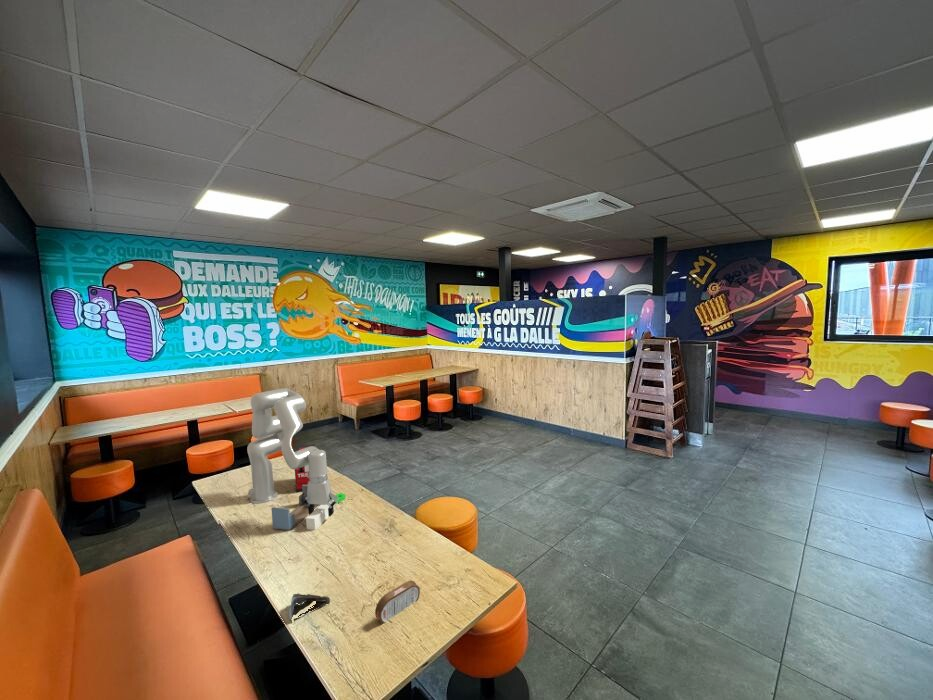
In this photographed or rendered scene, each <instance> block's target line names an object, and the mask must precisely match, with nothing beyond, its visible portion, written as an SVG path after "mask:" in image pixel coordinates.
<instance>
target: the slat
mask: <svg viewBox="0 0 933 700" xmlns="http://www.w3.org/2000/svg"><path fill="white" fill-rule="evenodd" d="M332 501H334V500H332ZM329 503H330V502H329ZM330 504H331V503H330ZM328 508H329V506H328V505H327V504H326V505H319V506H317V507H316V508H315V509H314V511H313V512H312V513H311V514H310V515H308V516H306V517H305V521H306V524H305V525H306V530H310V531H312V530H313V531H316V530H317V529H318V528H319V527H320V526H321V525H322V524H323V523H324V522H325V521H326V520H327V519H328V518H329V517H330V516H329V515H328Z"/></svg>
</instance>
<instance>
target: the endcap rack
mask: <svg viewBox="0 0 933 700" xmlns="http://www.w3.org/2000/svg"><path fill="white" fill-rule="evenodd" d="M307 487H308V485H302V493H301V494H300V495H299V496H298V506H297V507H295V509H293V510H292V511H291V512H290V516H291V515H292V514H295V525H294V526H293V527H292V528H291V529H290V530H288V529H277V528H273V527H272V530H280V531H281V530H283V531H292V530H293V529H294V528H295V527H297V526H298V525H299V524H300V523H302V521H303V520H304V519H306V518H307V517H308V516H309V512H308V507H307V504H306V503H305V502H304V500H303V498H302V496H303V495H305V494H307ZM319 506H320V505H316V504H314V510H316V509H317V508H318V507H319Z"/></svg>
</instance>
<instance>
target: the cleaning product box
mask: <svg viewBox="0 0 933 700" xmlns="http://www.w3.org/2000/svg"><path fill="white" fill-rule="evenodd" d="M310 446H314V447H316V444H314V443H313V444H308V445H307V444H305V445H298V446H297V447H296V451H299V450H301V449H304V448H307V447H310ZM296 451H295V452H296ZM308 475H309V465H306V466H303V467H301V468H298V469H294V476H295V477H294V479H295V491H296V492H295V493H301V492H302V485H308V482H309V481H310V479H309V478H307V476H308ZM302 493H303V492H302Z"/></svg>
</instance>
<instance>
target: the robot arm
mask: <svg viewBox="0 0 933 700" xmlns="http://www.w3.org/2000/svg"><path fill="white" fill-rule="evenodd" d="M250 407H251V410H252V417H251V419H252V422H251V434H252V437H253V438H254V440H252V441H251V442H249V444H248V445H247V449H246V450H247V454H248V458H249V463H250V469H251V470H250V472H251V483H252V488H250V489H248V492H247V495H248V496H251V497H250V499H249V500H250V503H251V504H255V505H258V504H259V505H260V504H265V503H268V502H272V501H273V500H275V499H276V498H277V497H278V495H279V494H278V493H279V492H278V491H276V490H275V484H274V483H275V482H274V470H273V463H272V461H271V460H270V459H269V458H268V456H270V455H273V454H277V453H279V452H281V453H282V456H283V458H284V461H285V463H286V465H287V467H289V469H292V470H295V469H298V468H301V467H303V466H306V465H309V475H308V476H307V478H309V479H310V481H309V482H308V487H307V494H305V495H303V496H302V498H303V500H304V502H305V503H306V504H307V507H308V512H309V515H310V514H311V513H312V512H313V511H314V510H315V509H314V504H316V505H319V506H320V505H326V504H327V505H328V506H329V508H328V515H329V517H331V516H332V515H334V513H335V512H334V511H335V505H336V504H337V503H336V502H337V500H338V497H337V496H335V495H336V494H333V491H332V486H331V482H330V479H328V464H327V463H328V462H327V453H326V451H325V450H323V449H319V448H317V447H316V446H315V447H314V446H310V447H307V448H304V449H301V450H299V451H294V449H293V447H292V440H293V437H294V435H296V434H297V433H299V432H300V431H301V430H302V429H303V427H304V424H303V422H302V420H301V418H300V415H299V413H301V412H304V411H305V410H306V408H307V403H306V400H305V398H304V397H303V396H302V395H301V394H300V393H297V392H295V391H293V390H291V389H290V388H287V387H284V388H283V387H282V388H278V389H273V390H272V389H271V390H266V391H262V392H258V393H254V394H253V395H252V396H251V398H250ZM272 409H273V411H274V413H275V415H273V411H272ZM332 499H334V501H332ZM329 502H330V503H331V504H330V503H329ZM335 503H336V504H335ZM309 515H308V516H309Z"/></svg>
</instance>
